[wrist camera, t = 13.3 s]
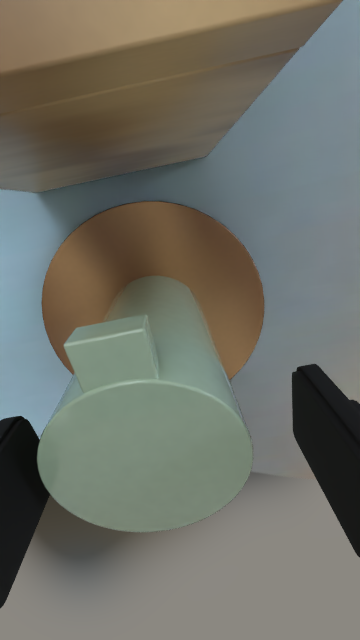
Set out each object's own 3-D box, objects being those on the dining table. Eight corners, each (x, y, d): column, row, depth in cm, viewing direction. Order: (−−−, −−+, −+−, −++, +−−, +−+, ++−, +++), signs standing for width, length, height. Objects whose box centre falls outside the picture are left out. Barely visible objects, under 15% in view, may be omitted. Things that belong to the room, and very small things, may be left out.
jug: (89, 266, 16) (-33, 365, 6) (191, 245, 16) (239, 311, 6) (131, 392, 20) (100, 579, 10) (213, 376, 20) (264, 550, 10)
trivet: (163, 139, 14) (163, 136, 14) (300, 324, 19) (304, 327, 19) (-3, 311, 18) (-8, 314, 17) (151, 430, 23) (151, 436, 22)
